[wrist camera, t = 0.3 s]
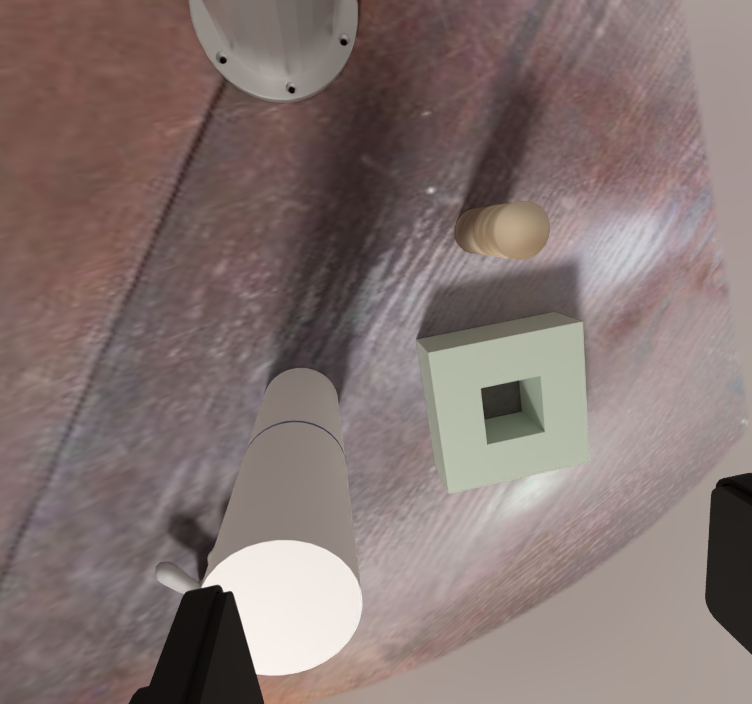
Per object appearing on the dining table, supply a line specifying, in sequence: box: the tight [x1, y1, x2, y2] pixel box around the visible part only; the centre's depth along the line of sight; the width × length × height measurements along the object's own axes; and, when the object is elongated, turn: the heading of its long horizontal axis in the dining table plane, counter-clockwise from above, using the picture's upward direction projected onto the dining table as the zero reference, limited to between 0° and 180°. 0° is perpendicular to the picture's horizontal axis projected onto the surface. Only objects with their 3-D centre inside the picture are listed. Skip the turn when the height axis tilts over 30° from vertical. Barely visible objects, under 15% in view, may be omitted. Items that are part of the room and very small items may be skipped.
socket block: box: [416, 312, 589, 494], centre depth 44 cm, size 14×14×5 cm
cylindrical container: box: [201, 368, 362, 675], centre depth 32 cm, size 7×7×25 cm
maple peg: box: [455, 201, 550, 260], centre depth 37 cm, size 4×4×10 cm
